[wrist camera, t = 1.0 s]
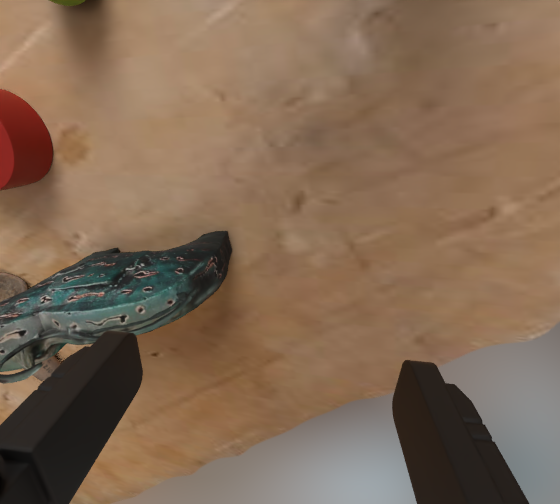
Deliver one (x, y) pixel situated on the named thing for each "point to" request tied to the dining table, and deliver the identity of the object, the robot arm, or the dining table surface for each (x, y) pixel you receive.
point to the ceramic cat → (108, 299)
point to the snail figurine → (68, 2)
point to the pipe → (9, 286)
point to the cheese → (22, 143)
